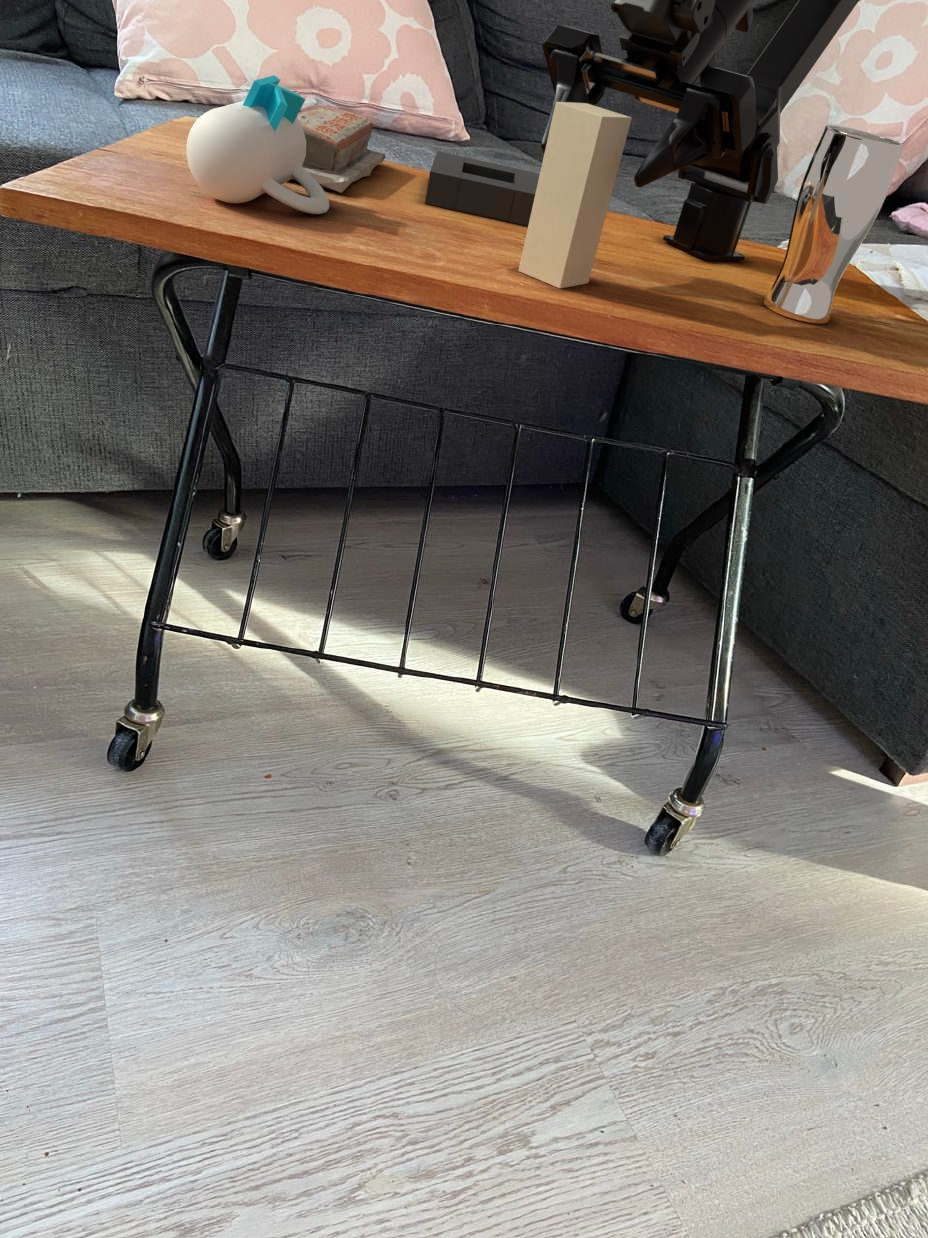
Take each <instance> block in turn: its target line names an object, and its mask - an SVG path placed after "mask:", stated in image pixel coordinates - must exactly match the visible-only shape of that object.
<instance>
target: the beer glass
mask: <svg viewBox="0 0 928 1238" xmlns="http://www.w3.org/2000/svg"><path fill="white" fill-rule="evenodd" d="M904 147H905V145H904V144H903V143H902V142H900V141H898V140H895V139H891V138H889V137H885V136H883V135H878V134H875V133H872V132H867V131H864V130H860V129H856V128H851V127H846V126H842V125H836V124H826V125H825V127H824V130H823V132H822V135H821V136H820V139H819V140H818V143H817V146H816V147H815V150H814V152H813V154H812V156H811V158H810V162H809V164H808V166H807V169H806V172H805V174H804V176H803V180H802V182H801V185H800V189H799V192H798V194H797V195H798V196H797V199H796V203H795V206H794V207H795V208H794V212H793V217H792V221H791V226H790V231H789V237H788V242H787V246H786V251H785V255H784V259H783V260H782V261H783V262H782V265H781V267H780V270H779V271H778V274H777V276H776V278H775V280H774V281H773V283H772V285H771V287H770V289H769V290H768V292H767V293H766V296H765V298H764V299H763V303H764V306H765V307H766V308H768V309H769V310H771V311H772V312H774V313H776V314H778V315H781V316H783V317H786V318H788V319H792V320H796V321H798V322H804V323H808V324H815V325H816V324H817V325H822V324H827V323H828V322H829V321H830V319H831V316H832V311H833V307H834V301H835V297H836V294H837V290H838V288H839V284H840V282H841V280H842V279H843V276H844V274H845V272H846V270H847V268H848V267H849V265H850V263H851V261H852V259H854V256H855V255H856V254H857V252H858V250H859V249H860V247H861V245H862V244H863V242H864V240H865V238H866V237H867V236H868V233H869V232H870V230H871V228H872V226H873V225H874V222H875V221H876V220H877V217H878V215H879V213H880V212H881V209H882V206H883V205H884V203H885V200H886V197H887V195H888V192H889V189H890V186H891V185H892V182H893V178H894V175H895V173H896V169H897V167H898V163H899V160H900V157H901V155H902V151H903V149H904Z"/></svg>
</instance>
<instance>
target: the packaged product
mask: <svg viewBox="0 0 928 1238" xmlns="http://www.w3.org/2000/svg"><path fill="white" fill-rule="evenodd" d="M297 118H298V120H299V121H300V123H301V125H302V127H303V130H304V134H305V139H306V156H305V159H304V162H303V165H302V167H303V168H304V169H305V170H306V171H307V172H308V173H309V174H310V175H311V176H312V177H313V178H314V179H315V180H316V181H317V182H318V183H319V185H320V186H321V187H322V189H327V190H331V191H334V192H338V193H341V194H342V193H343V192H344V191H345V190H346V189H347V188H348V187H349V186H350V185H351V184H352V183H355V182H357V181H358V180H360V179H362V178H364V177H370V176H371V173H372V170H373V169H374V168H376V167H377V166H378V165H379V164H382V163H384V162H385V159H386V153H384V152H379V151H374V150H371V149H368V146H369V142H370V139H371V137H372V133H373V128H374V123H373V121H372V120H370V119H369V118H368V117H366V116H365V115H364V114H362V113H359V112H354V111H350V110H346V109H341V108H337V107H334V106H329V105H323V104H321V105H320V104H319V105H315V106H312V107H310V108H306V109H303V110H300V111H299V113H298V115H297ZM291 180H292V181H295V182H297V181H296V180H295V179H294V178H292V179H290V181H291Z"/></svg>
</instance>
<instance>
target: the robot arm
mask: <svg viewBox="0 0 928 1238" xmlns="http://www.w3.org/2000/svg"><path fill="white" fill-rule="evenodd" d="M860 1H861V0H798V1H797V2H796V4H795V5H794V6H793V8H792V9H791V11H790V12H789V13H788V15H787V16H786V18H785V19H784V21H783V22H782V24H781V25H780V27H779V28H778V30H777V31H776V32H775V34H774V35H773V37H772V38H771V39H770V41H769V42H768V43H767V45H766V47H764V49H763V50H762V52H761V54H760V55H758V56H759V57H758V58H757V59H756V60H755V62H754V64H753V65H752V66H751V68H750V69H749V71H748V72H747V73H746V74H742V73H738V72H735V71H731V70H728V69H723V68H720V67H717V55H716V54H718V52H719V51H720V50H721V48H722V46H723V45H724V43H725V42H726V41H727V40H728V38H729V37H730V36H731V34H732V33H733V31H734V30H735V31H739V32H744V33H748V32H749V31H750V30H751V29H752V23H753V20H754V12H753V11H754V9H753V7H754V6H753V4H754V3H755V2H756V0H611V3H610V6H609V7H610V9H611V11H612V13H616V15H617V17H618V18H619V20H620V22H621V24H622V26H623V27H624V30H623V31H622V33H620V35H619V36H618V37H619V43H620V44H619V45H620V50H622V51H626V56H625V58H624V59H621V58H617V57H614V56H610V55H608V54H607V55H606V54H604V53H603V48H602V43H601V38H600V34H597V33H594V32H590V31H587V30H583V29H579V28H575V27H572V26H568V25H564V24H563V25H562V24H557V25H556V26H555V27H554V28H553V30H552V31H551V32H550V33H549V35H548V36H547V38H546V39H545V40H544V42H543V43H542V44H541V48H542V52H543V56H544V60H545V62H546V66H547V70H548V74H549V77H550V82H551V85H552V89H553V93H554V99H553V102H552V106H551V109H550V113H549V117H548V119H547V123H546V125H545V130H544V133H543V136H542V140H541V143H540V144H541V145H540V147H541V152H542V154H543V155H544V154H545V149H546V145H547V140H548V136H549V131H550V127H551V122H552V118H553V113H554V109H555V104H556V102H571V103H587V104H590V105H594V106H596V105H598V103H600V101H601V99H602V98H603V97H604V96H605V93H606V88H607V89H610V90H614V91H617V92H622V93H623V94H624V93H625V94H628V95H631V96H633V97H634V99H635V100H637V101H640V102H641V103H644V104H647V105H650V106H654V107H657V108H660V109H663V110H666V111H670V112H674V113H677V114H676V116H675V118H674V120H673V121H672V122H671V124H670V125H669V127H668V128H667V129H666V131H665V132H663V135H662V136H661V137H660V138H659V140H658V141H657V142H656V144H654V146H653V148H652V149H651V151H650V152H649V153H648V154H647V156H646V157H645V158H644V160H643V161H642V163H641V164H640V166H639V168H638V169H637V171H636V173H635V175H634V177H633V181H634V185H635V187H637V188H639V189H640V188H643V187H644V186H647V185H650V184H651V183H653V182H655V181H657V180H659V179H662V178H664V177H665V176H668V175H670V174H673V173H674V172H676V171H678V174H677V178H678V179H679V180H680V179H681V180H685V181H689V182H691V184H690V187H689V191H688V193H687V197H686V198H685V199H684V200H683V204H682V207H681V209H680V210H681V211H680V214H679V217H678V220H677V222H676V223H677V224H676V227H675V230H674V234H673V235H672V234H663V238H662V240H663V241H664V242H666V243H668V244H671V245H672V246H675V247H677V248H678V249H679V248H680V249H681V250H683V251H685V252H687V253H689V254H690V255H691V254H692V255H693V256H696V257H698V258H700V259H702V260H706V261H745V259H746V255H745V254H744V253H741V252H739V251H737V247H738V243H739V240H740V237H741V235H742V232H743V229H744V226H745V223H746V220H747V217H748V215H749V212H750V208H751V206H752V203H759V204H763V205H766V204H768V201H769V200H770V198H771V197H772V195H773V194H774V192H775V188H776V186H777V184H778V182H779V163H778V162H779V161H778V160H779V159H778V147H779V145H780V141H781V114H782V112H783V110H784V109H786V107H787V104H789V102H790V101H791V99H792V97H793V96H794V95H795V93H796V92H797V91H798V89H799V87H800V86H801V84H802V83H803V82H804V80H805V79H806V78H807V76H808V75H809V73H810V72H811V70H812V69H813V67H814V66H815V65H816V63H817V62H818V60H819V59H820V57H821V56H822V55H823V53H824V52H825V51H826V49H827V48H828V46H829V45H830V43H831V42H832V40H833V39H834V37H836V35H837V33H838V32H839V30H840V29H841V28H842V26H843V24H844V23H845V22H846V20H847V19H848V17H849V16H850V14H851V13H852V11H854V9H855V7H856V6H857V4H859V2H860ZM698 79H699V84H700V85H696V84H695V83H696V82H697V80H698ZM746 183H748V184H746Z"/></svg>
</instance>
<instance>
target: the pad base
mask: <svg viewBox="0 0 928 1238" xmlns="http://www.w3.org/2000/svg"><path fill="white" fill-rule="evenodd" d="M539 176H540V172H539V173H538V172H534V171H531V170H525V169H521V168H520V169H519V168H516V167H511V166H507V165H502V164H498V163H493V162H488V161H484V160H480V159H476V158H470V157H467V156H462V155H457V154H454V153H448V152H444V151H440V150H437V151H436V153H435V156H434V159H433V162H432V164H431V168H430V171H429V176H428V180H427V181H428V182H427V187H426V193H425V200H424V205H425V204H426V205H430V206H435V207H439V208H443V209H448V210H454V211H457V212H462V213H466V214H471V215H476V216H480V217H484V218H489V219H494V220H498V221H502V222H503V221H504V222H508V223H513V224H517V225H522V226H525V227H526V226H527V227H528V225H529V221H530V216H531V212H532V207H533V203H534V199H535V194H536V190H537V185H538V181H539Z"/></svg>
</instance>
